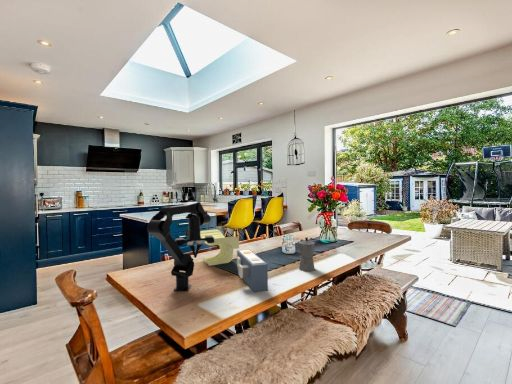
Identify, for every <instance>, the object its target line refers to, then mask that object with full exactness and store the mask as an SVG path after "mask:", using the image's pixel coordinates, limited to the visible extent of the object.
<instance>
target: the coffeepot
mask: <svg viewBox="0 0 512 384" xmlns="http://www.w3.org/2000/svg"><path fill="white" fill-rule="evenodd" d="M315 244H316V242H314V241H310V240H309V237H308V236H307V237H305V238H304V239H302V238H301V239H300V241H298V247H299V254H300V260H299V268H298V269H299V270H300V271H302V272H313V271H315V263H314V257H313V256H314V250H315Z"/></svg>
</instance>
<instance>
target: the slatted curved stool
mask: <svg viewBox="0 0 512 384" xmlns="http://www.w3.org/2000/svg"><path fill="white" fill-rule="evenodd" d="M200 234H201V238H205V236H213V237H214V243H207V242H203V243H204V244H205V245H207V246H209V247H210V246H219V252H218V253H217V254H215V255H212V256H207V257H202V261H203V262H204V263H205V264H207V265H208V266H209V267H210V266H216V265H222V264H228V263H231V262H232V261H233V258H234V256H233V255H234V250H238V249H240V240H239V238H238V236H227V237H226V236H225V235H224V234H223V233H222V231H221V230H219V229H208V230H200Z"/></svg>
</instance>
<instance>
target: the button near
mask: <svg viewBox="0 0 512 384" xmlns="http://www.w3.org/2000/svg"><path fill="white" fill-rule="evenodd" d="M238 276H239V277H240V279H243V276H250V274H249V266H248V265H242V266H241V265H240V264H239V273H238Z"/></svg>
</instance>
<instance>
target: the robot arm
mask: <svg viewBox="0 0 512 384" xmlns="http://www.w3.org/2000/svg"><path fill="white" fill-rule="evenodd" d="M181 214H187V215H186V216H185V219H187V220H188V221H187V222H188V230H186V229H185V231H184V233H185V234H184V237H186V238H187V239H184V237H176V238H175V239H174V237H173V236H172V235H171V225H172V224H173V216H176V215H181ZM165 217H166V218H165ZM164 218H165V220H163V219H164ZM210 222H211V216H210V214H208V211H207V210H206V211H205V209H204V206H203V205H202V203H201V202H200V201H187V202H185V203H184V204H181V205H180V204H179V205H172V206H162V207H161V209H160V210H159V211H158V212H157V213H156V214H154V215H153V216H152V217H151V219H150V220H149V222H148V223H147V225H146V231H147V233H149V234H150V235H151V236H152V237H153V238H155V239H158V241H160V243H161V244H162V245H163V247H164V248H165V249H166V251H167V252H168V254H169V255H170V257H171V258H172V259H173V267H172V268H171V271H170V273H171V276H175V287H174V289H173V291H174V292H179V291H180V292H182V291H184V292H185V291H189V289H190V288H191V286H192V284H189V278H190V277H191V276H192V275H193V273H194V269H195V268H194V267H195V261H194V258H197V257H198V254H199V250H200V248H201V246H203V245H204V244H203V243H204V242H207V243H214V237H213V236H205V238H201V234H200V231H201V226H203V225H209V223H210ZM194 243H195V245H194ZM185 244H186V245H187V247H189V248H190V249H191V251H192V255H193V257H194V258H193V257H192V255H191V254H190V253H185V252H183V251H182V249H181V248H180V246H181V247H182V246H184V245H185Z"/></svg>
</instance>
